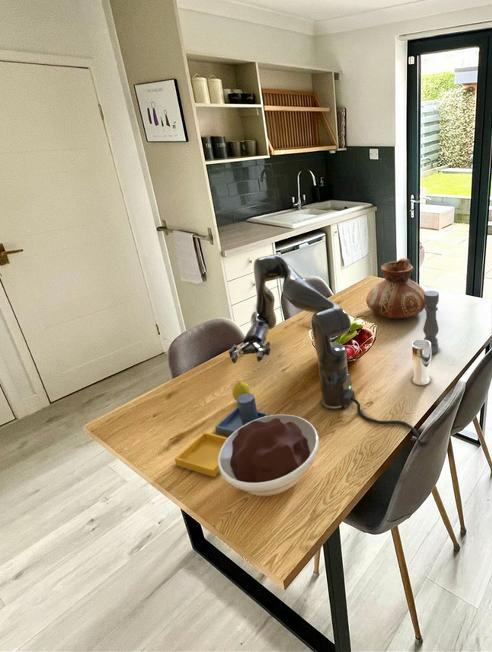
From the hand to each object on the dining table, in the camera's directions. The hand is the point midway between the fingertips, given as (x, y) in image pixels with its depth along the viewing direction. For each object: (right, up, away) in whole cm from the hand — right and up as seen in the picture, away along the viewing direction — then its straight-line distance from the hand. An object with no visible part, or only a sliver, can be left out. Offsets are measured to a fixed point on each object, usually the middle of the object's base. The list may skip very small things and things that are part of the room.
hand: (246, 360), depth 141 cm
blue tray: (+6, -18, -18) cm, 26 cm away
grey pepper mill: (+68, +1, +21) cm, 71 cm away
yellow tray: (0, -23, -29) cm, 37 cm away
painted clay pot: (+55, +15, +57) cm, 81 cm away
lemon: (+1, -13, -7) cm, 15 cm away
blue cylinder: (+7, -17, -17) cm, 25 cm away
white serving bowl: (+20, -25, -35) cm, 48 cm away
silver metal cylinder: (+62, -8, +2) cm, 63 cm away
